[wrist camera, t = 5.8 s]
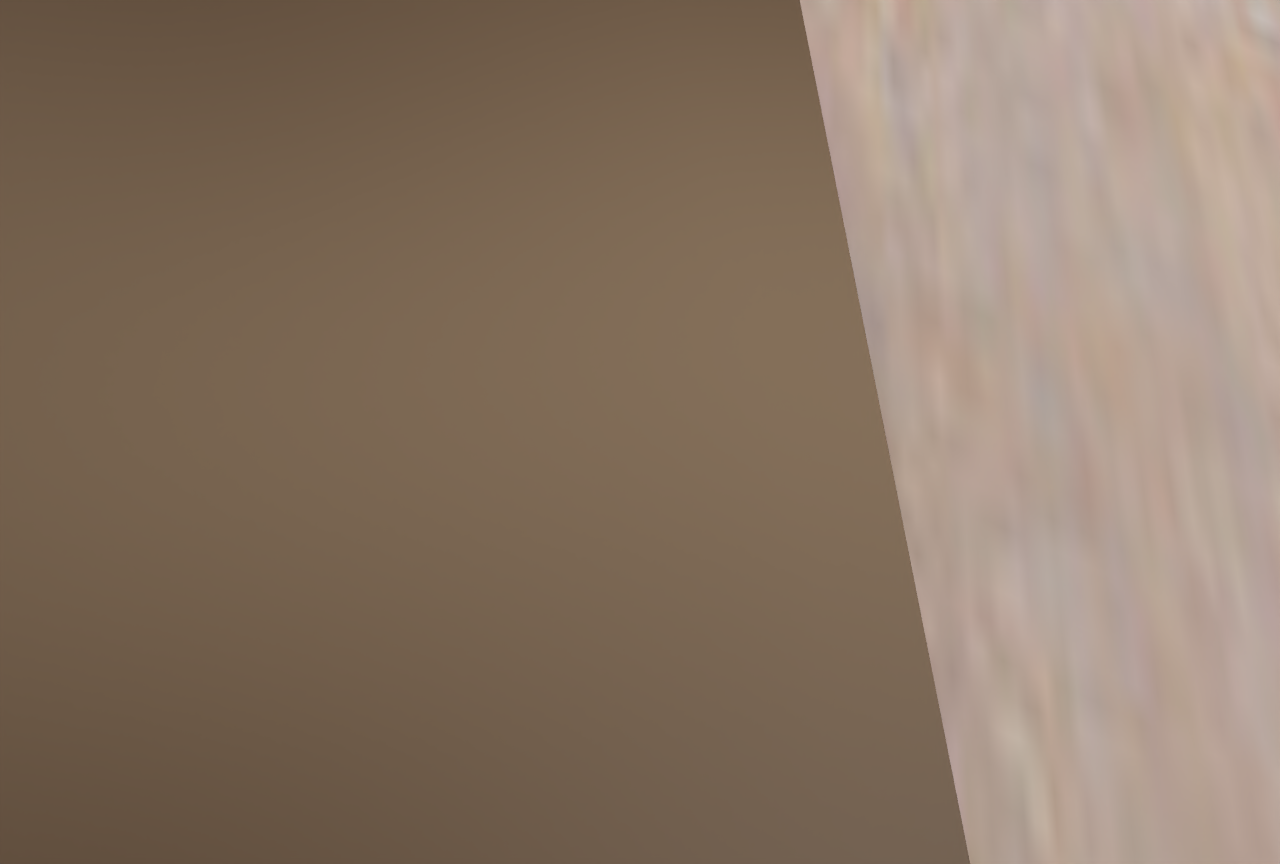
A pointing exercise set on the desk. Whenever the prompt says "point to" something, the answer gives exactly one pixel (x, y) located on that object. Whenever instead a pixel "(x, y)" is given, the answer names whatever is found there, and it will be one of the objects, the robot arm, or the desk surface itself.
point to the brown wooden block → (443, 445)
